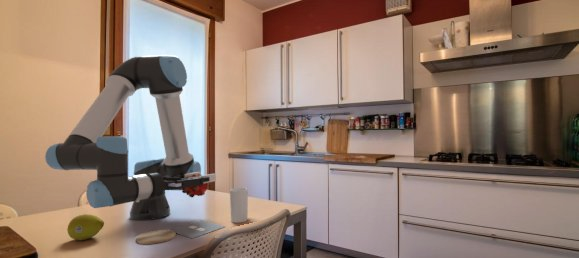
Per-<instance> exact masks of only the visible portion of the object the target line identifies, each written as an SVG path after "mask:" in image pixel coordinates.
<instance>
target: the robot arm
mask: <svg viewBox="0 0 579 258" xmlns="http://www.w3.org/2000/svg"><path fill="white" fill-rule="evenodd" d="M187 79H188V74H187V70H186V67H185V64H184V63H183V61H182V60H181V59H180V57H178V56H176V55H173V54H168V55H167V54H161V55H160V54H158V55H147V56H146V55H143V56H133V57H132V58H128V59H126V60H125V61H123V62H122V63H121V64H119V65H118V66H117V67H116V68H115V69H114V70H113V71H112V72H110V74H109V76H108V77H107V78H106V81H105V82H106V85H105V86H104V87H103V89H102V90H101V91H100V93H99V94H98V96H97V97H96V98H95V100H94V101H93V103H91V105H90V107H89V108H88V109H87V111H86V112H85V114H84V115H83V116H82V118H80V120H79V121H78V123H76V125H75V127H74V128H73V130H72V131H71V132H70V134H69V135H68V137H66V139H65V140H64V142H59V143H54V144H52V145H50V146H49V147H48V148H47V150H46V151H45V155H44V159H45V162H46V164H47V165H48V166H49V167H50V168H51V169H54V170H61V171H70V170H71V171H73V170H76V171H80V170H81V171H82V170H84V171H85V170H86V171H89V170H90V171H92V170H93V171H96V179H94V180H92V181H91V180H90V182H89V183H87V184H88V185H87V187H86V193H85V194H86V199H87V202H88V204H89V205H90V207H91V208H93V209H100V208H106V207H110V208H111V207H113V206H117V205H122V204H127V203H131V202H132V205H131V208H130V210H129V218H130V220H134V221H149V220H155V219H160V218H163V217H166V216H168V215H170V214H171V207H170V204H169V201H168V199H167V196H166V191H181V192H182V191H183V190H182V188H186V187H193V186H200V187H201V186H202V185H203V183H208V184H209V183H213V182H216V173H209V174H203V175H202V167H201V166H202V165H201V164H200V162H198V161H197V160H196V161H195V159H194V158H195V157H194V155H193V154H192V153H190V151H189V147H188V146H189V145H188V140H187V134H186V128H185V121H184V115H183V109H182V104H181V103H182V102H181V96H180V95H181V94H182V93H183V90H184V89H183V87H185V86H186V84H187V83H188V80H187ZM141 89H148V90H149V95H150V96H152V97H153V98H155V103H156V110H157V115H158V120H159V124H160V125H159V126H160V131H161V137H162V141H163V148H164V152H165V158H164V157H163V158H156V159H155V158H154V159H148V160H142V161H138V162H136V163H134V167H133V169H134V170H133V175H130V176H129V148H128V139H127V137H126V136H124V135H121V136H120V135H119V136H117V135H114V136H113V135H111V136H104V135H105V133H106V132H107V130H108V128H109V127H110V125H111V124H112V122H113V120H115V117H117V115H118V113H119V111H120V110H121V108H122V107H123V106H124V104H125V102H126V101H127V99H128V98H129V97H131V96H133V95H134V94H135V92H136V91H137V90H141ZM193 174H196V175H198V174H201V175H202V176H199V177H191V178H186V177H187V176H192V175H193Z"/></svg>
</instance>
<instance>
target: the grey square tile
mask: <svg viewBox="0 0 579 258" xmlns="http://www.w3.org/2000/svg"><path fill="white" fill-rule="evenodd" d="M225 227H226V226H225V225H221V224H217V223H213V222H209V221H205V220H202V219H199V220H197V221H194V222H191V223H186V224H184V225H181V226H177V227H173V228H171V229H169V230H173V231H175V233H176V235H179V236H183V237H186V238H189V239H195V238H198V237H201V236H205V235H206V234H209V233H213V232H216V231H218V230H220V229H223V228H225Z"/></svg>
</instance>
